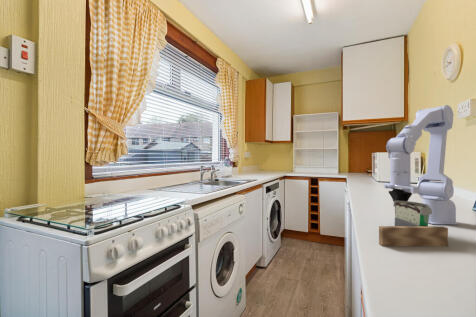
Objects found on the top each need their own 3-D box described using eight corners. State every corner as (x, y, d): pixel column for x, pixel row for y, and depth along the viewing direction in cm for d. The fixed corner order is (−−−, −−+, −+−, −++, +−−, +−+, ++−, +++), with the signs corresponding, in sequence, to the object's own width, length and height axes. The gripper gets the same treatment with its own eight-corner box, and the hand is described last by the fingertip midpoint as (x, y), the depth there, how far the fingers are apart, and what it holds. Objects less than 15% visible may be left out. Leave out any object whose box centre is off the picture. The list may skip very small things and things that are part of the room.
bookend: (397, 233, 75) (397, 217, 75) (421, 244, 65) (421, 226, 65) (378, 232, 75) (378, 217, 75) (400, 244, 65) (400, 226, 65)
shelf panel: (443, 244, 65) (443, 226, 65) (448, 246, 63) (447, 228, 63) (378, 243, 65) (378, 226, 65) (382, 245, 63) (382, 227, 63)
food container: (443, 243, 66) (443, 208, 66) (421, 242, 66) (422, 207, 66) (411, 229, 78) (411, 200, 78) (393, 229, 78) (393, 200, 78)
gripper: (375, 171, 86) (375, 207, 86) (403, 173, 72) (403, 216, 72) (394, 171, 86) (394, 207, 86) (426, 173, 72) (426, 217, 72)
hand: (400, 211), depth 79 cm, fingers closed
